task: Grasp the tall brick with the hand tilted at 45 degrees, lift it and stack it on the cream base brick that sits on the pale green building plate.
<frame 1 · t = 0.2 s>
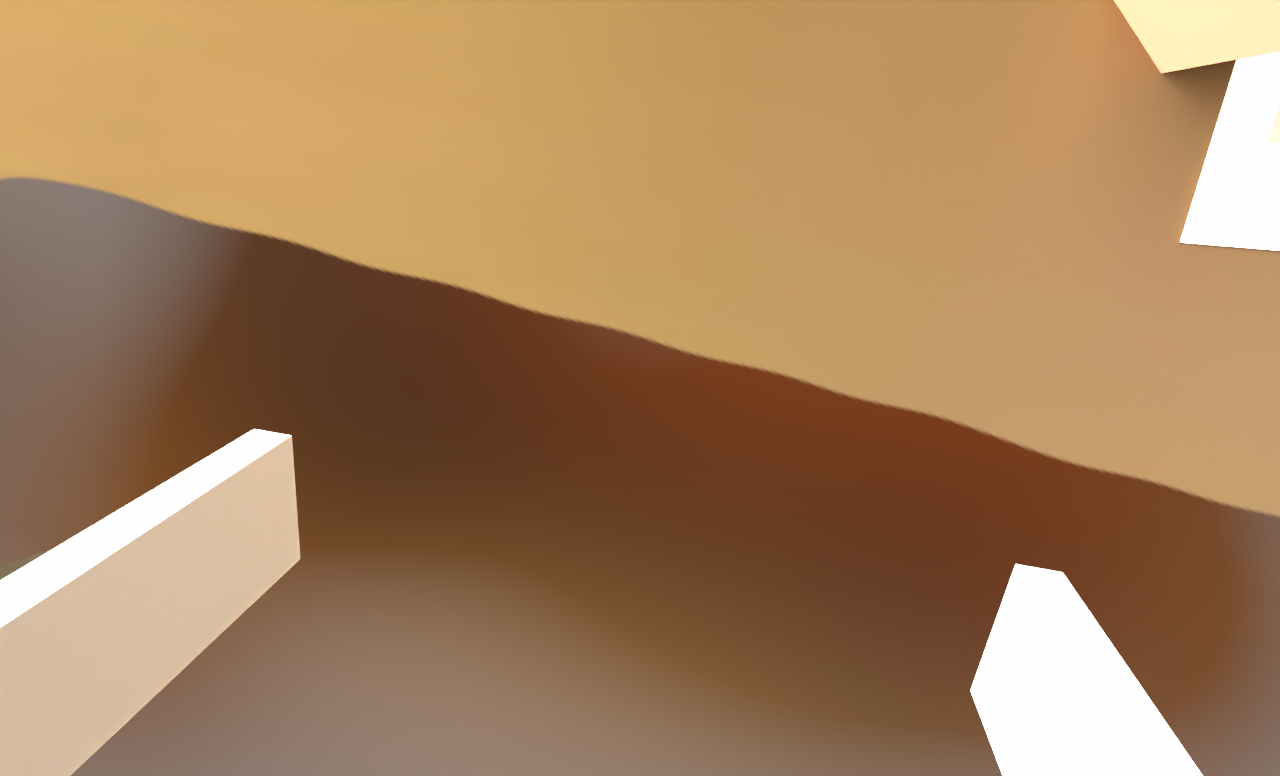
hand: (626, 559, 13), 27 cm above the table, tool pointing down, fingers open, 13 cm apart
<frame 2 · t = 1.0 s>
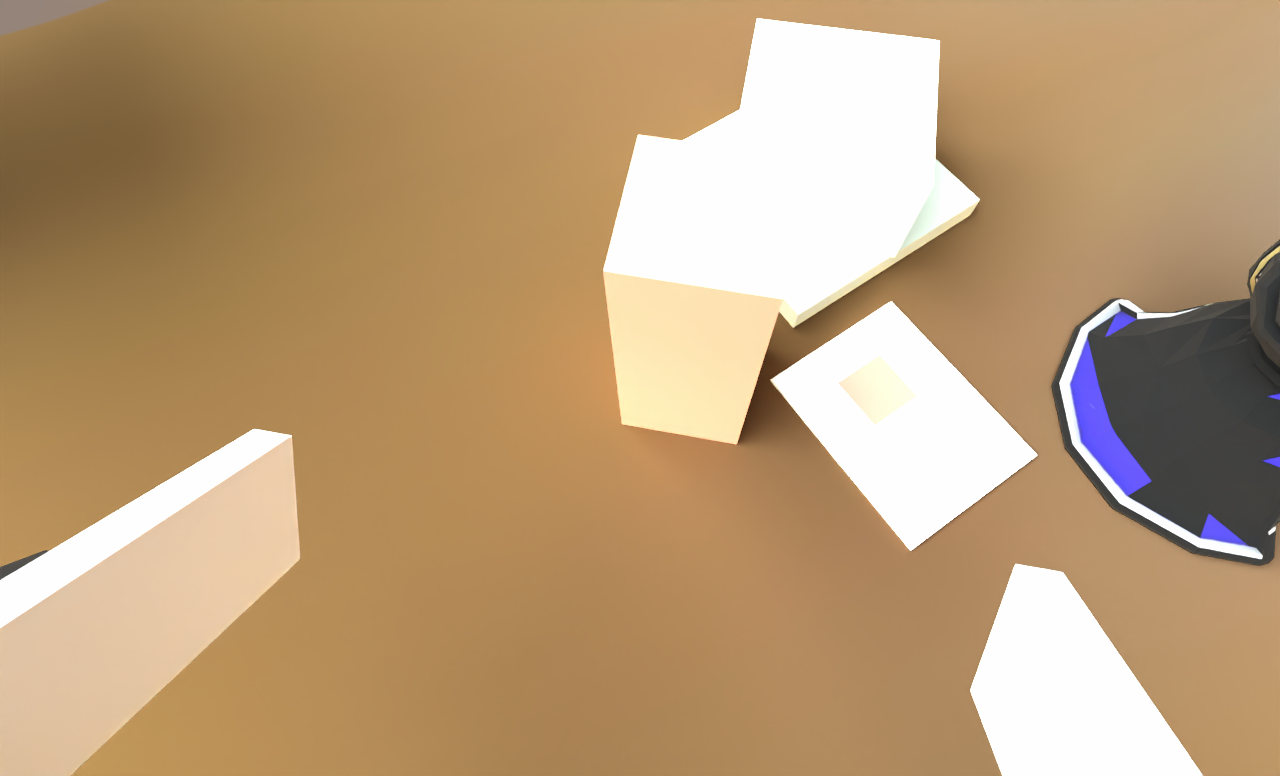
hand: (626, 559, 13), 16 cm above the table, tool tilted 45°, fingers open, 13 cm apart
base brick: (815, 176, 34), point 1 cm above the table, touching plate
instruction page: (899, 417, 31), on the table
figurine: (1151, 432, 30), on the table
plate: (810, 192, 36), on the table
tall brick: (688, 381, 32), on the table
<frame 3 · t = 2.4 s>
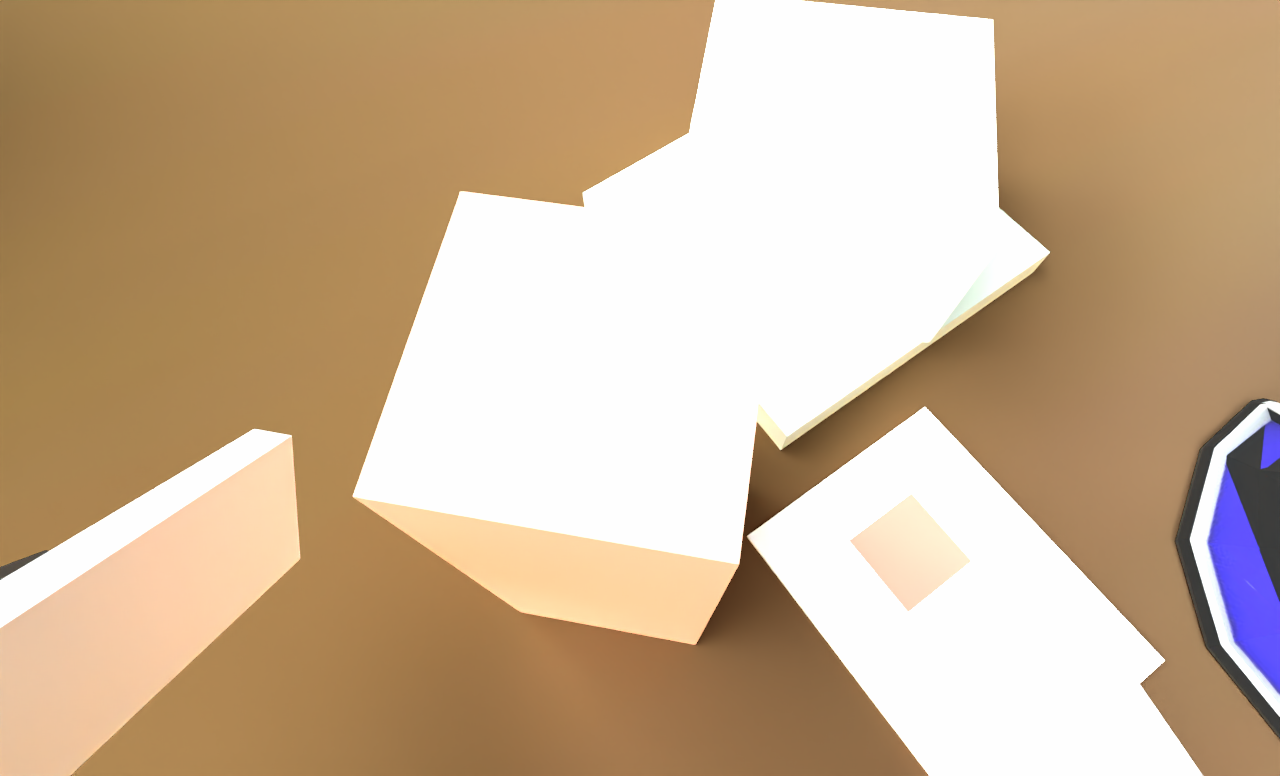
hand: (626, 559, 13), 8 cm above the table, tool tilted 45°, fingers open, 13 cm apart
base brick: (809, 221, 24), point 1 cm above the table, touching plate
instruction page: (945, 596, 20), on the table
plate: (802, 243, 25), on the table
tall brick: (623, 540, 21), on the table
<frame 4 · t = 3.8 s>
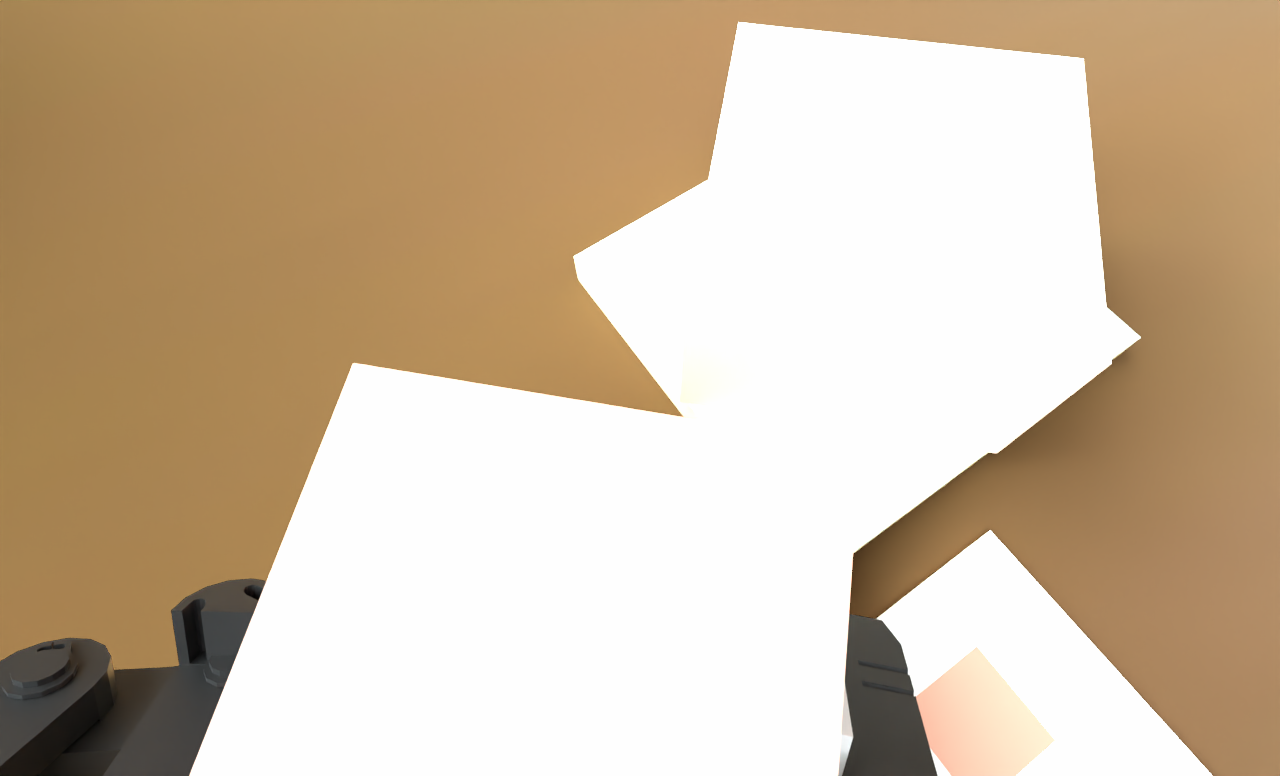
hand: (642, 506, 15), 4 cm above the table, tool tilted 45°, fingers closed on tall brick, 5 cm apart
base brick: (845, 295, 20), point 1 cm above the table, touching plate
plate: (836, 317, 21), on the table
tall brick: (617, 701, 17), on the table, touching gripper
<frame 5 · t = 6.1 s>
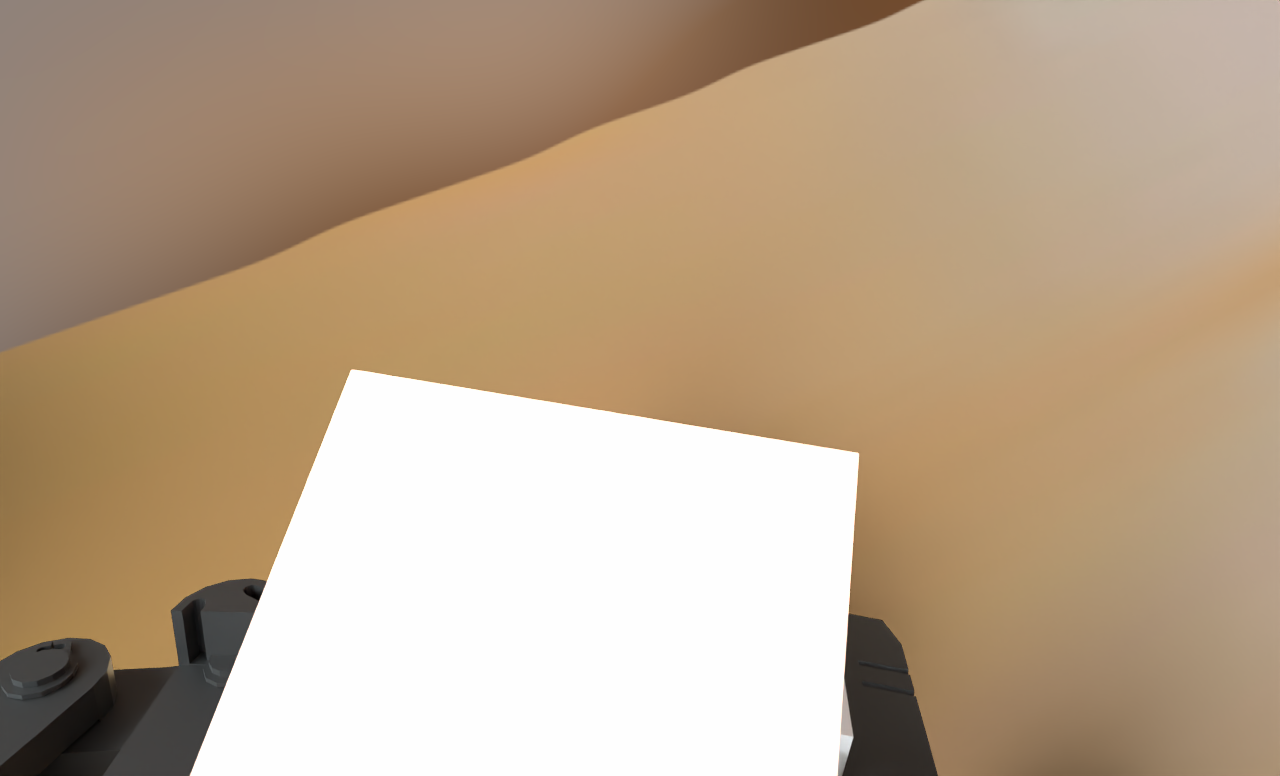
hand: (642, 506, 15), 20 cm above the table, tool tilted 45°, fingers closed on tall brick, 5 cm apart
tall brick: (616, 704, 17), point 16 cm above the table, touching gripper
when the fingers open (11 cm above the table, at t = 8.3 s): tall brick stays where it is, resting on base brick.
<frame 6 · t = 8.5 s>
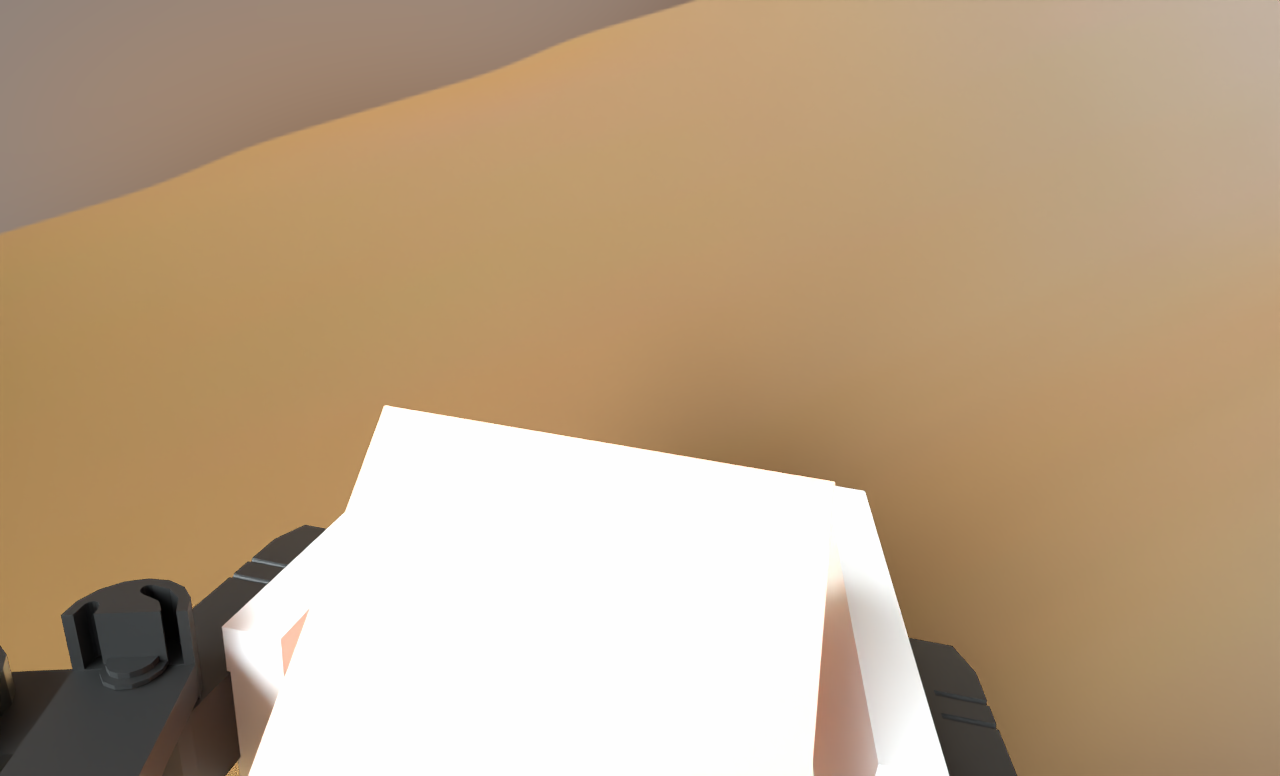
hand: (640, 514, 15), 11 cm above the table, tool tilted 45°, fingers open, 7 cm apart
tall brick: (618, 704, 18), point 6 cm above the table, touching base brick
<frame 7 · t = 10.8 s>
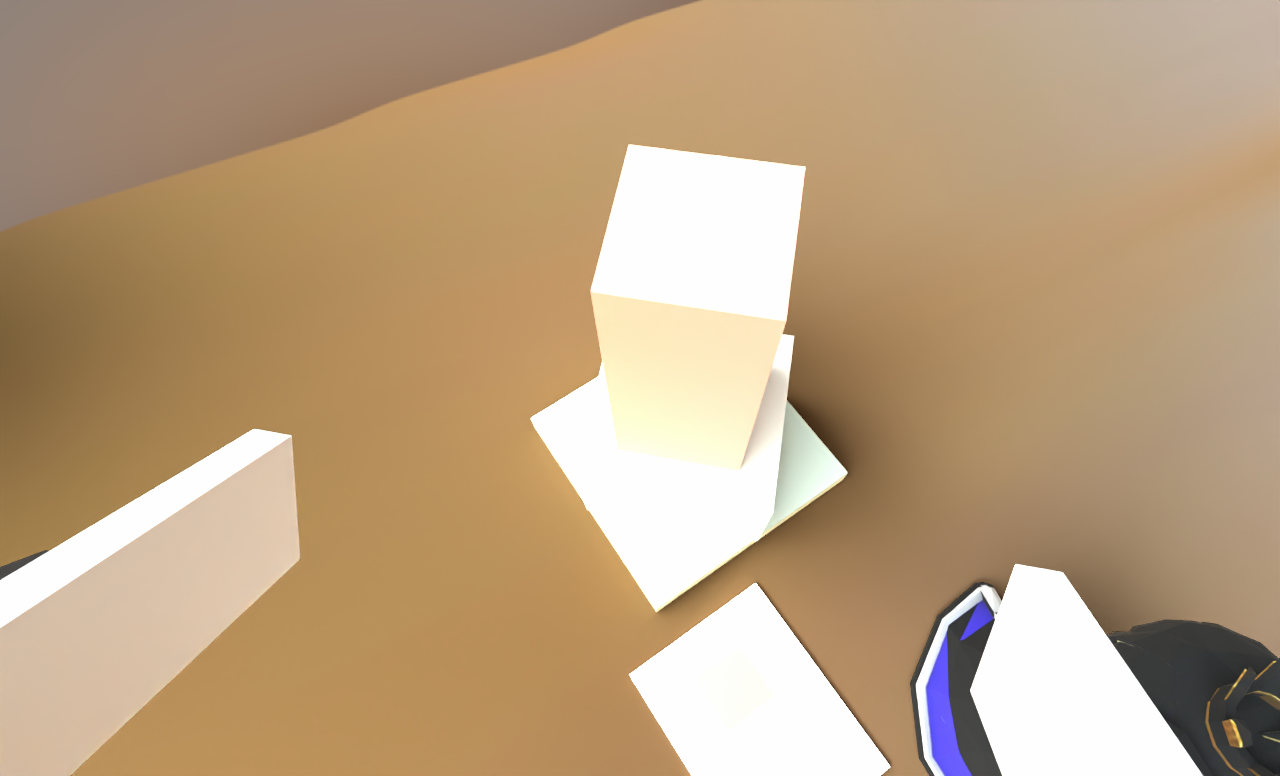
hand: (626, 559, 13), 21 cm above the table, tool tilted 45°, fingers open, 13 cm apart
base brick: (685, 444, 34), point 1 cm above the table, touching plate, tall brick
instruction page: (755, 719, 30), on the table
figurine: (1009, 735, 30), on the table
plate: (684, 453, 36), on the table
tall brick: (688, 404, 30), point 6 cm above the table, touching base brick
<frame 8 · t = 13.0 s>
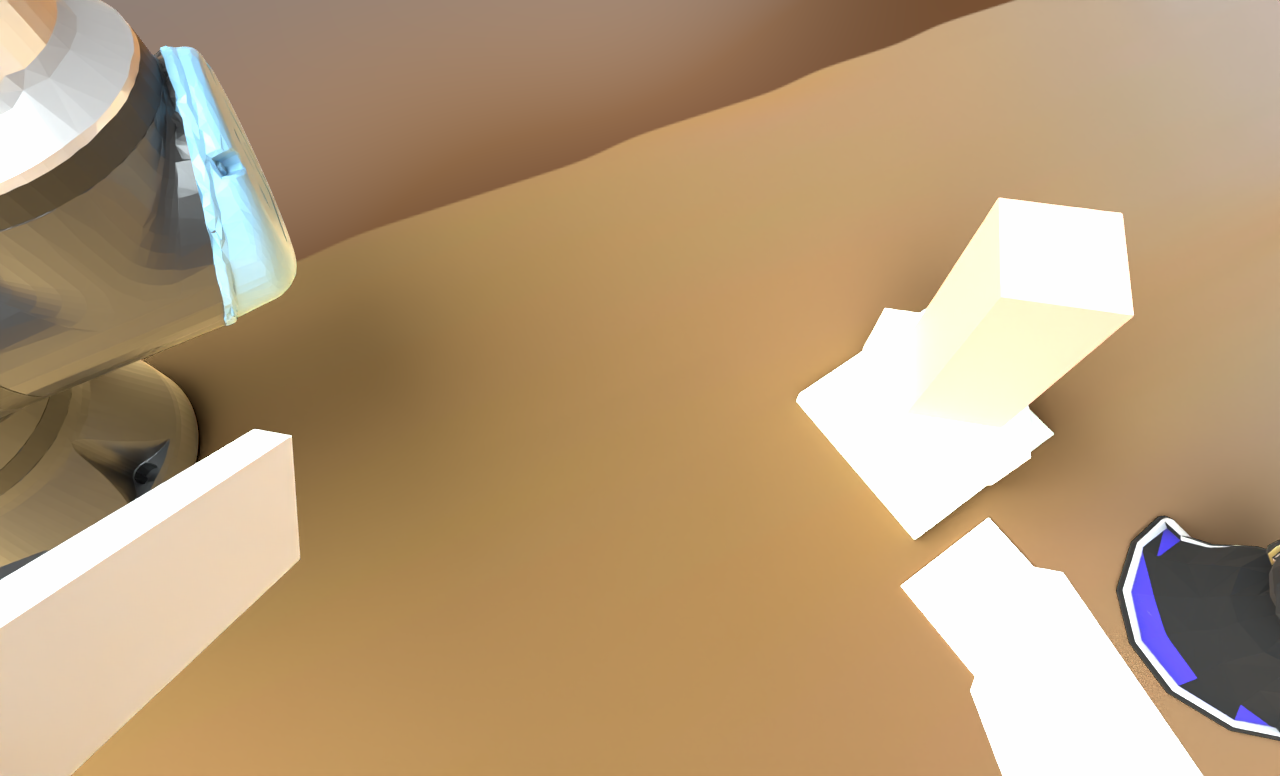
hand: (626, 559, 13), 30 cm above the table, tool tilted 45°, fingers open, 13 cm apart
base brick: (924, 413, 44), point 1 cm above the table, touching plate, tall brick
instruction page: (1001, 616, 40), on the table
figurine: (1193, 627, 40), on the table
plate: (918, 420, 46), on the table
tall brick: (953, 380, 40), point 6 cm above the table, touching base brick
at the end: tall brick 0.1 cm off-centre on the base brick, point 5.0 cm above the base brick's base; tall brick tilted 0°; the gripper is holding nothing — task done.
